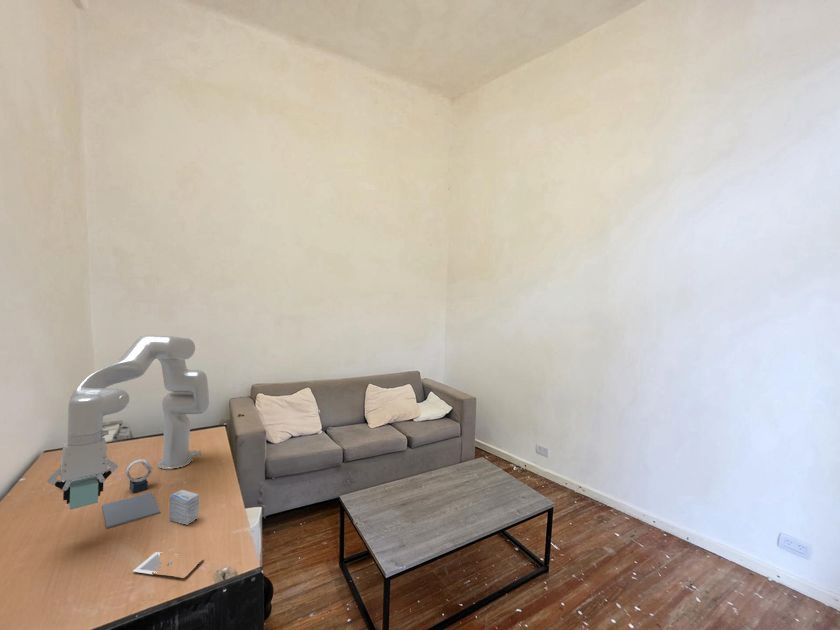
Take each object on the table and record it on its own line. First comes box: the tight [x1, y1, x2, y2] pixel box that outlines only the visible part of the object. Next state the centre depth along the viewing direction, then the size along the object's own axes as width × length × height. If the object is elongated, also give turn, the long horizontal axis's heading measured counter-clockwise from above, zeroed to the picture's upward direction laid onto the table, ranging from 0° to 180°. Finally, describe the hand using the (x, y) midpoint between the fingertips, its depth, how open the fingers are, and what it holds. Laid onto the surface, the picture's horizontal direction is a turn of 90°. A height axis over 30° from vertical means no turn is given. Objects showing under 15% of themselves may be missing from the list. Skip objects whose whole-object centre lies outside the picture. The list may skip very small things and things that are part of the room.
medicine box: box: [169, 489, 200, 526], centre depth 123 cm, size 8×4×9 cm, turn 71°
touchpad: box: [132, 551, 186, 575], centre depth 102 cm, size 8×15×2 cm, turn 84°
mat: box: [101, 492, 161, 530], centre depth 127 cm, size 14×16×1 cm
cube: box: [69, 475, 99, 511], centre depth 109 cm, size 6×6×6 cm
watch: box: [125, 458, 153, 494], centre depth 140 cm, size 6×8×11 cm
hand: (83, 497), depth 109 cm, fingers closed on cube, 5 cm apart
